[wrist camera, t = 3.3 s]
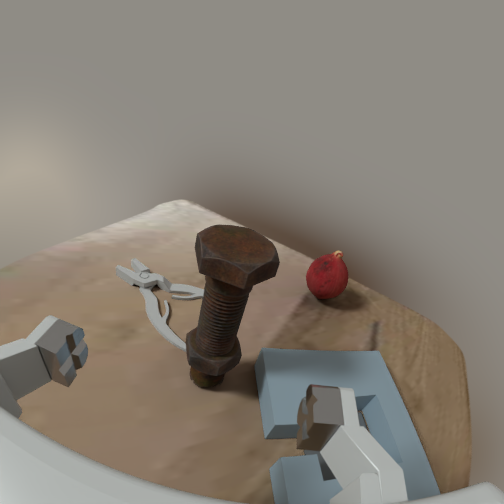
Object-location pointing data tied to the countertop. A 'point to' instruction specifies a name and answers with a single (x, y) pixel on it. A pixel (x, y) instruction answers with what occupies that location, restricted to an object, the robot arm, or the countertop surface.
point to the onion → (327, 276)
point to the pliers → (146, 284)
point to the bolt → (225, 296)
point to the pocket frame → (374, 409)
